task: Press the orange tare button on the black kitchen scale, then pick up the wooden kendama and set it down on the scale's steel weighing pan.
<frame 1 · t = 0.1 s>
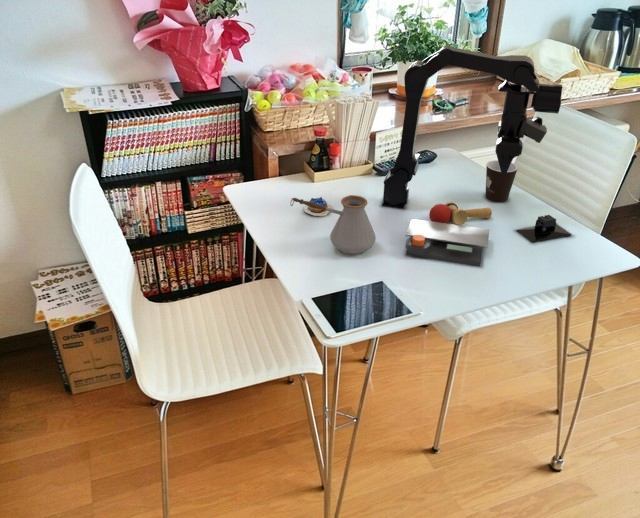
hand: (504, 167, 157), 15 cm above the table, tool pointing down, fingers open, 9 cm apart
tare button: (418, 240, 146), point 4 cm above the table, slide at 0.2 cm
coffee pot: (333, 249, 149), on the table
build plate: (543, 233, 157), on the table
scale: (445, 247, 150), on the table
kendama: (459, 222, 162), on the table
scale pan: (446, 243, 152), resting on scale
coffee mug: (496, 196, 176), on the table
scale display: (457, 259, 145), resting on scale
dessert: (317, 211, 167), on the table
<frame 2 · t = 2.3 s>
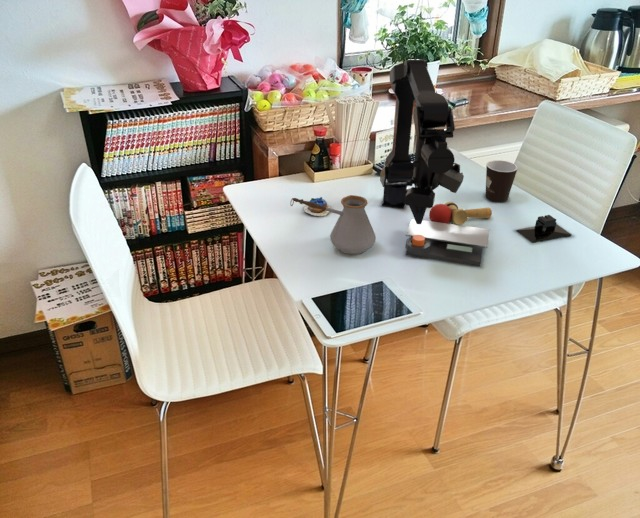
hand: (421, 217, 143), 10 cm above the table, tool pointing down, fingers open, 7 cm apart
nothing on the table moved.
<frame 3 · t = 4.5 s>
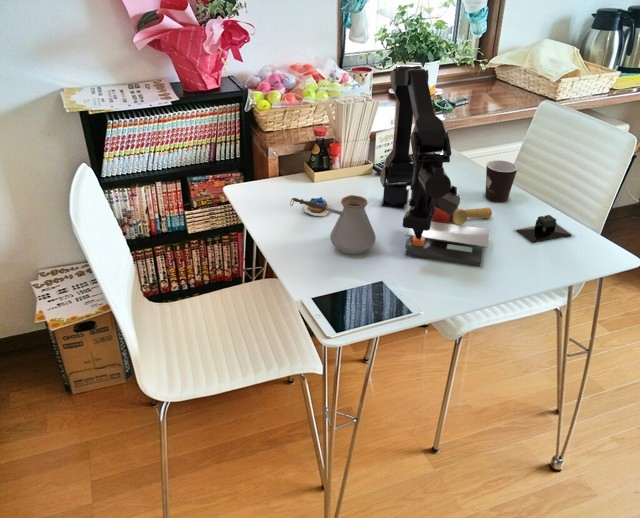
hand: (418, 237, 146), 4 cm above the table, tool pointing down, fingers closed, pressing on tare button
tare button: (418, 240, 146), point 3 cm above the table, slide at 0.1 cm, touching gripper
everything else where it was.
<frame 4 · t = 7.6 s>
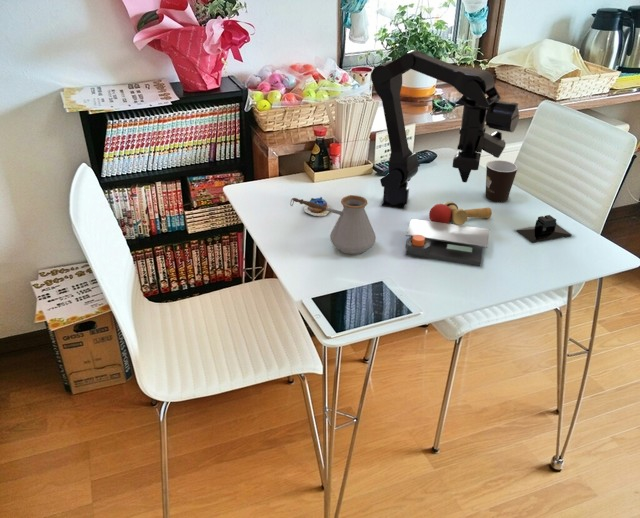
hand: (464, 181, 155), 12 cm above the table, tool pointing down, fingers closed
tare button: (418, 240, 146), point 4 cm above the table, slide at 0.2 cm
everything else where it was.
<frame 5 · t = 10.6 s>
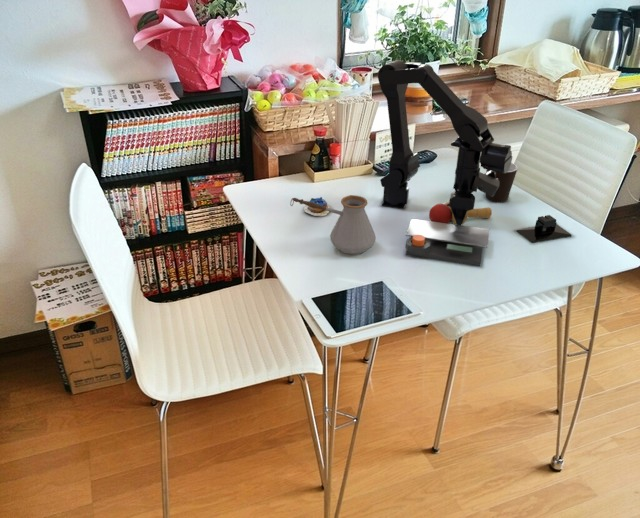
hand: (460, 218, 161), 1 cm above the table, tool pointing down, fingers closed on kendama, 8 cm apart
kendama: (459, 222, 162), on the table, touching gripper
everything else where it was.
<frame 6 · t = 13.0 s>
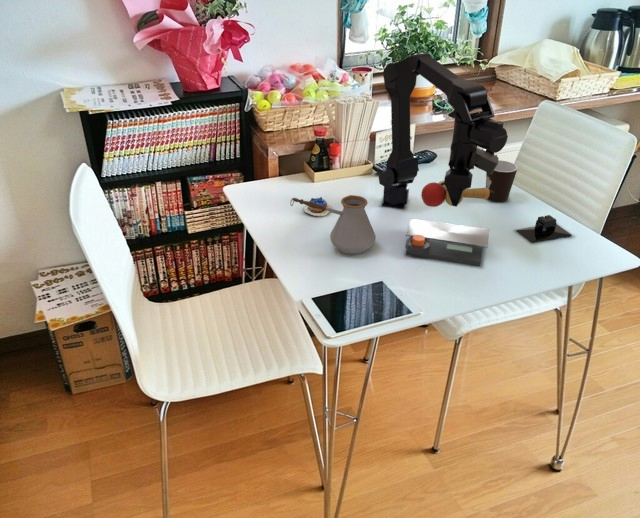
hand: (456, 198, 149), 11 cm above the table, tool pointing down, fingers closed on kendama, 8 cm apart
kendama: (453, 203, 150), point 10 cm above the table, touching gripper
everything else where it was.
when the fingers open (5 cm above the table, at t = 15.5 s): kendama stays where it is, resting on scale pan.
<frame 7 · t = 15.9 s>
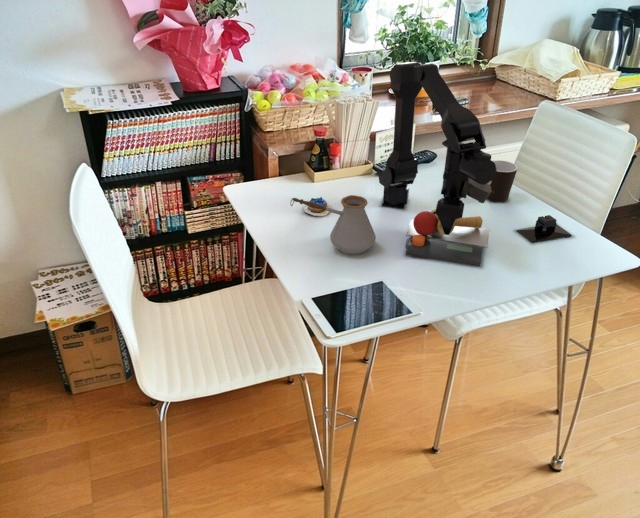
hand: (449, 226, 149), 5 cm above the table, tool pointing down, fingers open, 9 cm apart
kendama: (446, 231, 151), point 3 cm above the table, touching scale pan
everything else where it was.
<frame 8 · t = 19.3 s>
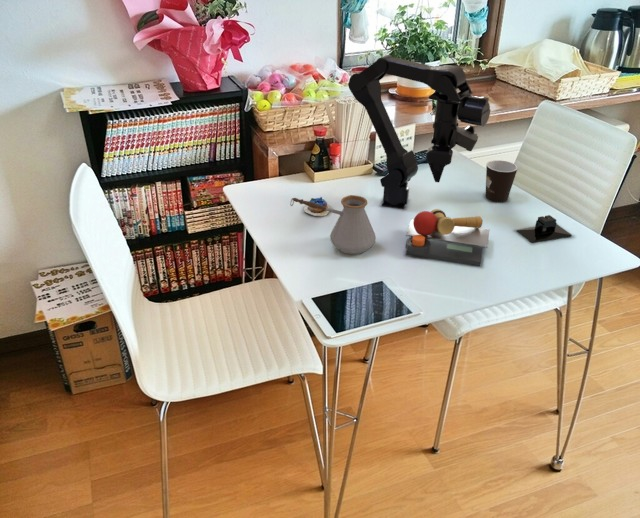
hand: (439, 175, 159), 12 cm above the table, tool pointing down, fingers open, 9 cm apart
nothing on the table moved.
at the end: tare button pushed in 0.9 cm at the most during the clip, back to 0.2 cm at the end; tare button slide at 0.2 cm; kendama inside the target area on the scale (0.8 cm from its centre), point 3.2 cm above the scale's base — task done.
